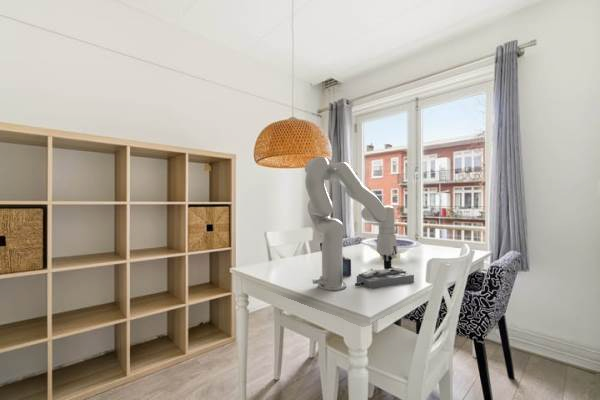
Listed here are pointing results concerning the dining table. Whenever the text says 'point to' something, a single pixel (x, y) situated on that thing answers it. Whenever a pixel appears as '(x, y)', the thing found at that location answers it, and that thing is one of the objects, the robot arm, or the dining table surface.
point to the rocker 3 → (396, 268)
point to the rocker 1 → (369, 272)
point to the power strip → (384, 279)
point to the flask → (346, 266)
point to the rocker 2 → (382, 270)
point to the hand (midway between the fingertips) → (387, 268)
